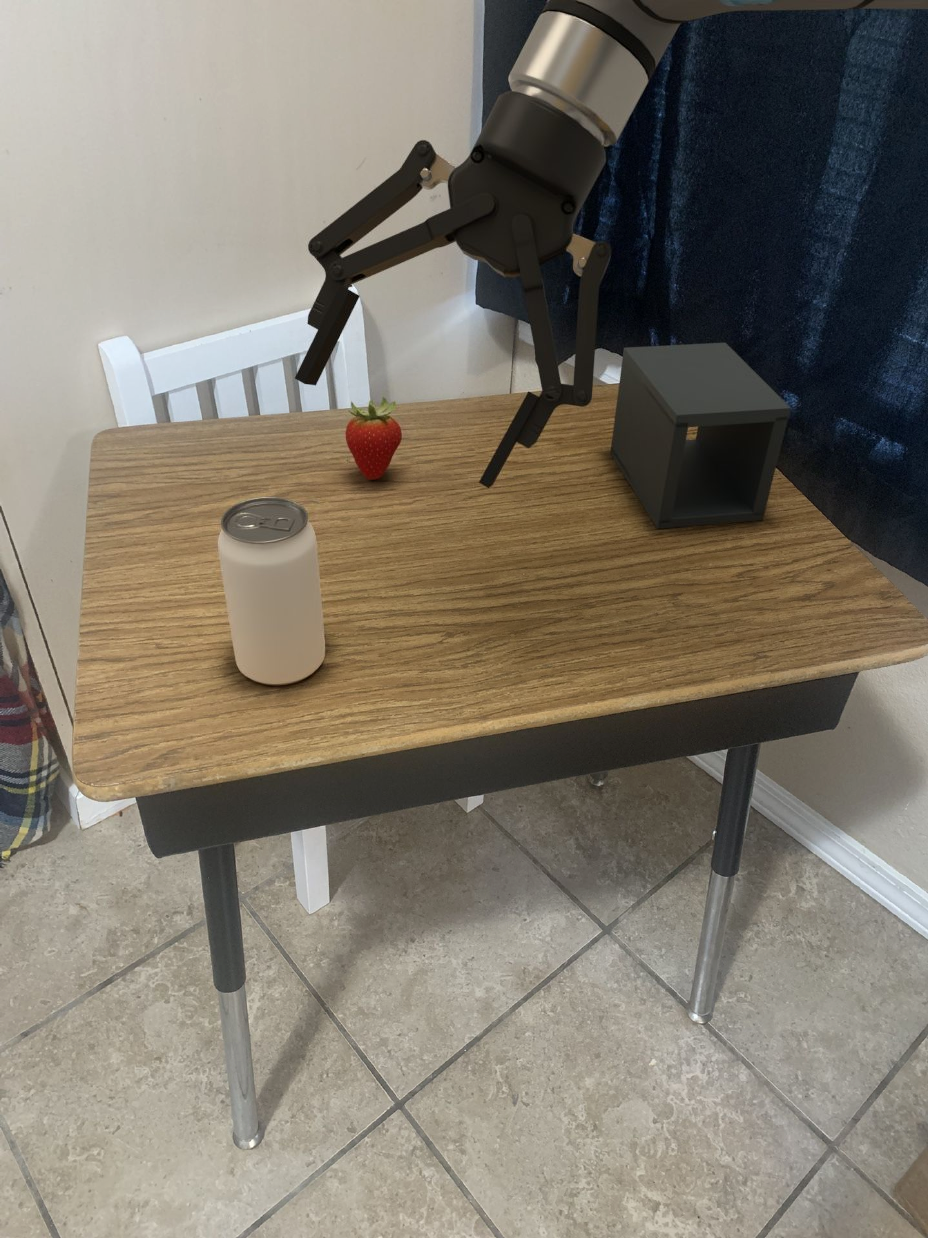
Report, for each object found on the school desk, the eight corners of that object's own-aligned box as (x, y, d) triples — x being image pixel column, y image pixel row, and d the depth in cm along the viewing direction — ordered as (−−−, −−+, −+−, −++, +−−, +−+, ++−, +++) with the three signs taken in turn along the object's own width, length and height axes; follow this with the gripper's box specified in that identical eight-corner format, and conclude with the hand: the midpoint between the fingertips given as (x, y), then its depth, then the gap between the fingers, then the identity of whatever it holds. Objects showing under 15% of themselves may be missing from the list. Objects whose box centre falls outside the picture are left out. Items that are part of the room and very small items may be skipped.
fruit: (396, 461, 95) (394, 384, 90) (407, 489, 91) (406, 409, 86) (343, 467, 94) (339, 389, 89) (353, 495, 90) (349, 415, 85)
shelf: (763, 520, 88) (791, 407, 81) (657, 529, 86) (676, 414, 80) (704, 447, 99) (725, 342, 92) (609, 453, 97) (623, 347, 90)
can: (249, 627, 74) (230, 489, 66) (334, 634, 73) (324, 496, 66) (224, 684, 69) (200, 541, 61) (315, 692, 68) (301, 549, 61)
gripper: (728, 232, 63) (562, 520, 68) (390, 42, 63) (249, 343, 68) (747, 208, 55) (559, 532, 60) (364, -7, 56) (209, 334, 61)
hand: (395, 433), depth 64 cm, fingers open, 13 cm apart
